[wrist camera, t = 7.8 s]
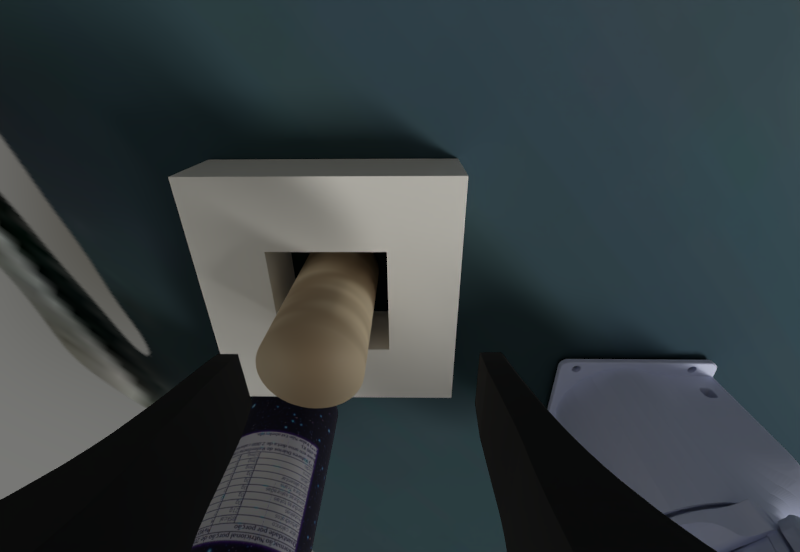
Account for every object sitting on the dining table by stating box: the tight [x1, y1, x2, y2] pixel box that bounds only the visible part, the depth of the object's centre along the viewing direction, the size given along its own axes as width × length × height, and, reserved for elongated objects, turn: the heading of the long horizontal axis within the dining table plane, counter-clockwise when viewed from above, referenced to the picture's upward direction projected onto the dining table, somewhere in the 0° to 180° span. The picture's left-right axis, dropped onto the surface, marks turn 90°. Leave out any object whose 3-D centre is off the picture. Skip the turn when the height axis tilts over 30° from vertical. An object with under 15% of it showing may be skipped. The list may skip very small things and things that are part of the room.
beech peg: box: [256, 252, 379, 408], centre depth 17 cm, size 4×4×8 cm
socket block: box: [168, 159, 468, 398], centre depth 19 cm, size 12×12×4 cm
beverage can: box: [191, 396, 338, 552], centre depth 20 cm, size 6×6×12 cm
